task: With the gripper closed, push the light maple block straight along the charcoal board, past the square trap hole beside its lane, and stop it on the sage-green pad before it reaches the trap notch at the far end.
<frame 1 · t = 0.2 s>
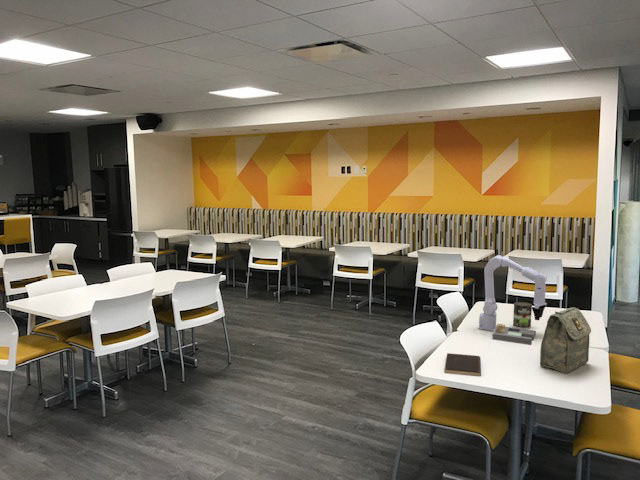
hand: (538, 318, 298), 10 cm above the table, tool pointing down, fingers open, 7 cm apart
coffee can: (521, 327, 318), on the table
trap board: (514, 337, 296), on the table
bag: (564, 365, 252), on the table
maple block: (500, 331, 297), point 3 cm above the table, touching trap board
hardcover book: (463, 367, 252), on the table
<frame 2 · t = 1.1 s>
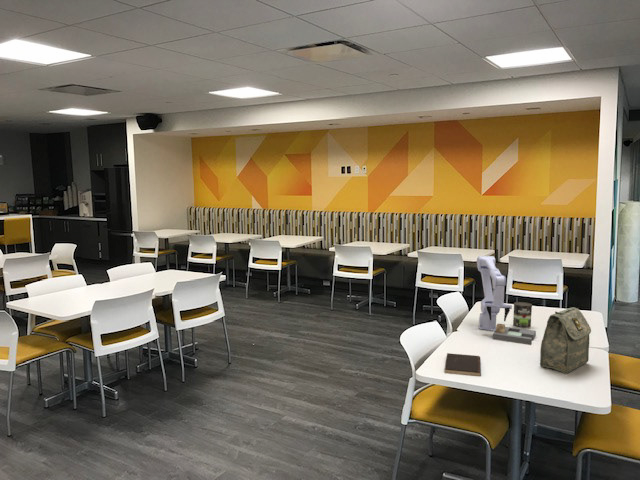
hand: (497, 320, 299), 9 cm above the table, tool pointing down, fingers open, 7 cm apart
nothing on the table moved.
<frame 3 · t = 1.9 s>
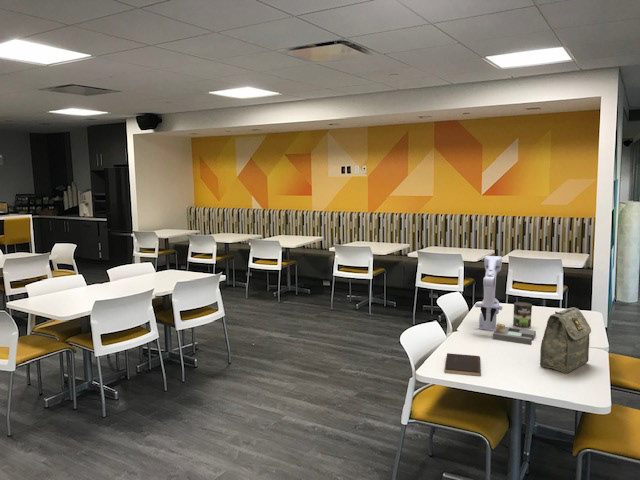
hand: (488, 320, 299), 8 cm above the table, tool pointing down, fingers open, 3 cm apart
nothing on the table moved.
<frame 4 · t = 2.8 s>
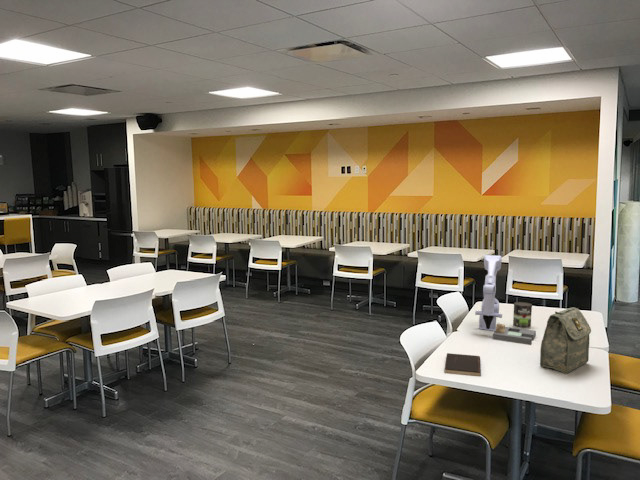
hand: (488, 328, 300), 4 cm above the table, tool pointing down, fingers closed
nothing on the table moved.
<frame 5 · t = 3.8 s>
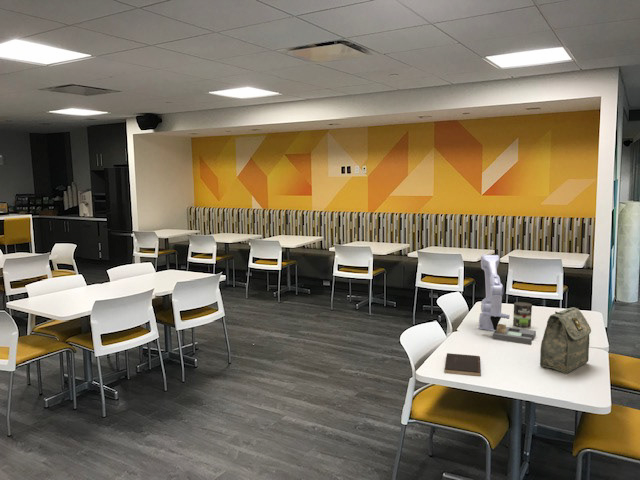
hand: (495, 329, 298), 4 cm above the table, tool pointing down, fingers closed
maple block: (501, 331, 296), point 3 cm above the table, touching gripper, trap board
everything else where it was.
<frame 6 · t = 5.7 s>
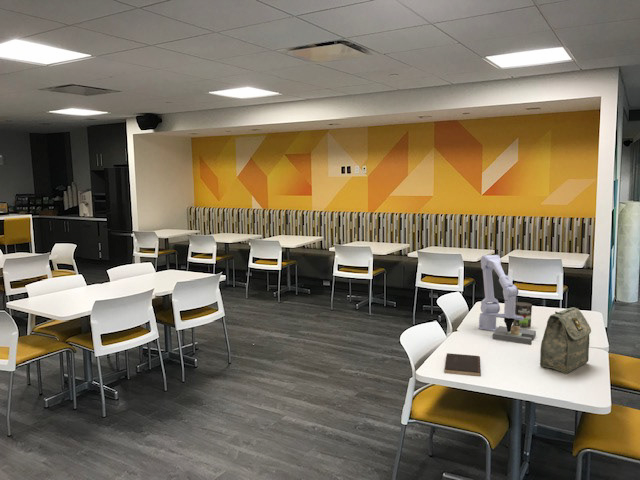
hand: (508, 331, 294), 4 cm above the table, tool pointing down, fingers closed
maple block: (515, 333, 293), point 3 cm above the table, touching gripper, trap board
everything else where it was.
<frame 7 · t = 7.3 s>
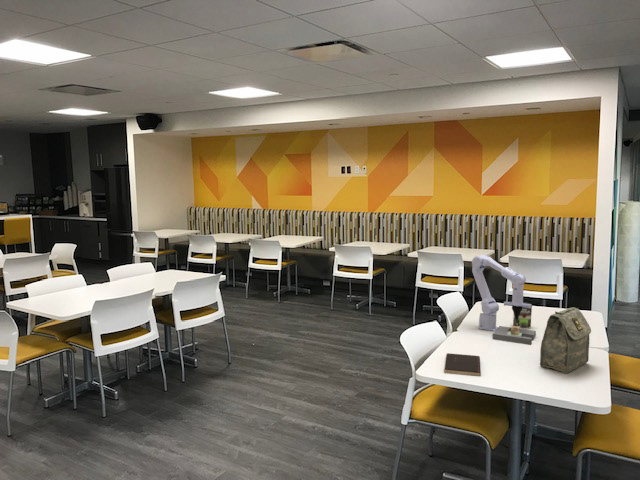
hand: (516, 319, 300), 9 cm above the table, tool pointing down, fingers closed
maple block: (515, 333, 293), point 3 cm above the table, touching trap board
everything else where it was.
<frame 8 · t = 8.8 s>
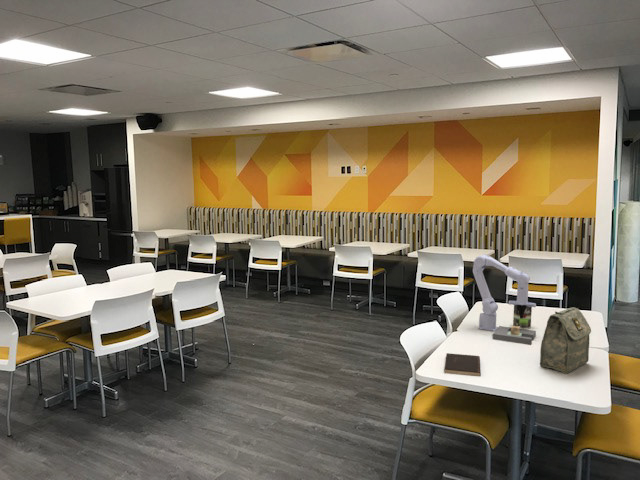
hand: (521, 317, 302), 9 cm above the table, tool pointing down, fingers closed
nothing on the table moved.
at the end: maple block inside the target area on the trap board (0.1 cm from its centre), point 3.0 cm above the trap board's base; maple block tilted 0°; maple block moved 7.8 cm from its start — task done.
